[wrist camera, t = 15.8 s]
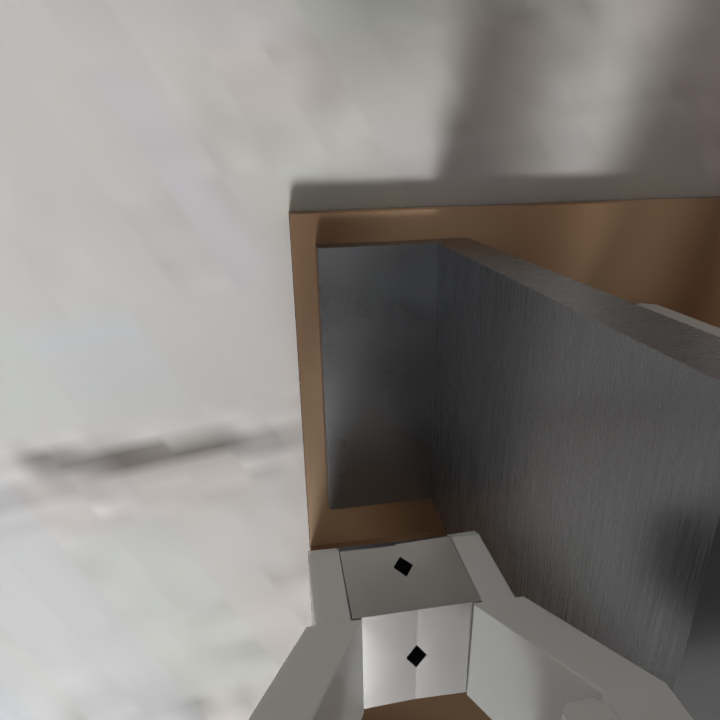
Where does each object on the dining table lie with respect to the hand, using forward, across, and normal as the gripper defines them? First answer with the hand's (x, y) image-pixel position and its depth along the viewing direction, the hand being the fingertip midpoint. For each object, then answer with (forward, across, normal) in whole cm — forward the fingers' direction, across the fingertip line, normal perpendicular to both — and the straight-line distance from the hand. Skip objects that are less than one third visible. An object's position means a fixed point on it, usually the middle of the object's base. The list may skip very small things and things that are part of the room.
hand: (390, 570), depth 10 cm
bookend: (+9, -2, 0) cm, 9 cm away
